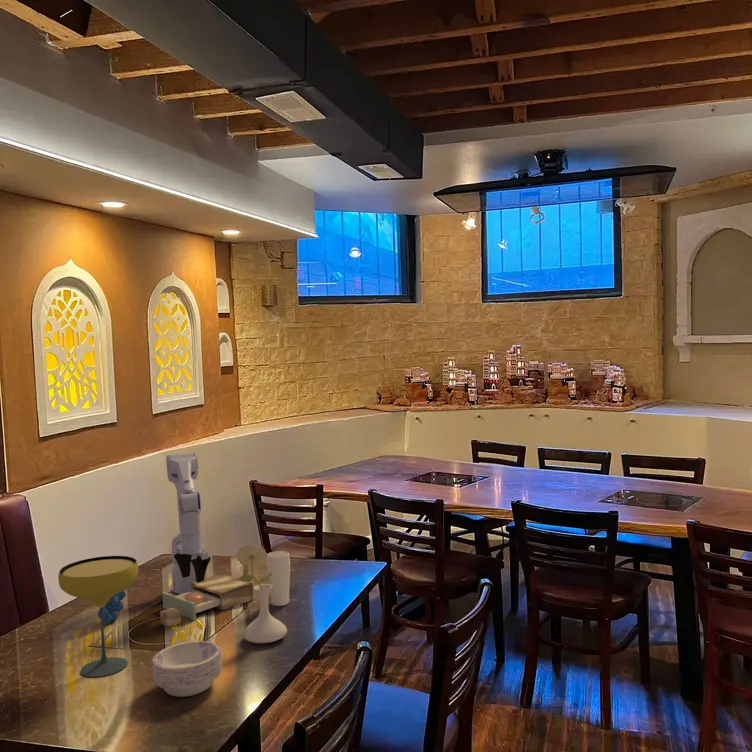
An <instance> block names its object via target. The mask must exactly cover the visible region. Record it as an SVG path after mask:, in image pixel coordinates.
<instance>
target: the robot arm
mask: <svg viewBox="0 0 752 752" xmlns="http://www.w3.org/2000/svg"><path fill="white" fill-rule="evenodd" d="M165 456H166V457H165V459H166V460H165V462H166V463H165V464H166V473H167V474H166V475H167V478H168V481H169V482H170V483H172V484H174V486H175V490H176V497H177V498H176V499H177V513H178V515H177V516H178V526H179V529H178V530H179V533H178V534H176V536H175V537H173V538H172V540H171V559H172V564H173V567H172V569H171V579H172V588H170V590H169V591H170V592H173V593H174V594H178V595H181V594H185V593H188V592H191V583H192V582H195V581H197V583H199V582H202V581H204V579H205V578H206V572H207V569H208V565H209V563H210V562H211V559H212V558H211V556H209V555H210V554H209V551H206V549H205V546H204V539H203V536H202V530H201V529H202V528H201V513H200V512H201V511H202V499H201V494H200V491H199V490H198V488H197V483H196V480H197V476H198V472H199V471H198V470H199V456H198V454H197V453H196V451H195V452H191V453H190V452H189V453H178V454H176V453H175V454H167V455H165Z"/></svg>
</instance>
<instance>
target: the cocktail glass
mask: <svg viewBox="0 0 752 752" xmlns="http://www.w3.org/2000/svg"><path fill="white" fill-rule="evenodd" d="M138 575H139V563H138V561H137V559H136V558H134V557H131V556H127V555H106V556H98V557H97V556H96V557H90V558H86V559H85V558H84V559H82V560H77V561H74V562H71V563H69V564H67V565H65V566H63V567H61V568H60V570H59V571H58V576H57V577H58V586H59V588H60V590H62V591H63V592H64V593H65V594H67V595H69V596H72V597H75V598H79V599H83V600H87V601H89V602H90V603H92V604H93V605H94V606H95V607H96V608H98V609H100V641H101V642H100V643H101V654H100V655H101V656H100V659H96V660H92V661H90V662H88V663H86V664H85V665H83V666H82V667H81V669H80V674H81V675H82V676H84V677H86V678H93V679H94V678H104V677H110V676H112V675H116V674H118V673H121V671H124V669H126V668H127V666H128V665H129V662H128V659H126V658H123V657H116V656H114V657H113V656H112V657H111V656H110V657H107V652H106V644H105V643H106V642H105V641H106V640H105V631H104V630H105V629H104V624H103V608H102V607H104V606H105V605H106V604H107V602H108V601H109V599H110V598H111V597H113V596H114V595H116V594H118V593H119V592H121V591H123V590H124V591H125V590H126V589H127V588H128V587H130V586H131V585H133V584H134V582H135V581H136V580H137V578H138Z"/></svg>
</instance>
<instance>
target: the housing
mask: <svg viewBox="0 0 752 752" xmlns="http://www.w3.org/2000/svg"><path fill="white" fill-rule="evenodd" d="M238 580H239V578H237V577H232V576H231V575H230V576H229V575H227V574H223V573H217V574H216V575H211V576H209V577H205V578H204V581H202V582H199V583H197V581H195V582H192V583H191V591H194V590H197V591H200V592H203V593H206V594H209V595H212V596H215V597H217V598H220V605H219V606H216V607H215V609H217V608H218V609H217V610H220V609H221V610H220V611H223V610H224V611H226V610H229V609H231V608H230V607H232V608H235V607H237V605H238V606H240V605H239V604H241V605H243V603H244V604H247V603H250V602H251V601H254V589H253V587H254V586H253V582H251V581H250V582H246V581H238ZM249 601H250V602H249ZM246 602H247V603H246ZM234 606H235V607H234ZM228 608H229V609H228ZM225 609H226V610H225Z"/></svg>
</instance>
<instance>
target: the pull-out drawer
mask: <svg viewBox="0 0 752 752" xmlns="http://www.w3.org/2000/svg"><path fill="white" fill-rule="evenodd" d="M161 593H162V608H163V609H164V610H167V609H170V608H175V609H178V610H180V614H181V617H182V616H183V617H184V618H187V619H190V620H192V621H195V620H197V614H198V613H201V612H203V611H206V610H210V609H213V608H214V607H216V606H219V605H220V598H217V597H215V596H212V595H209V594H206V593H203V592H200V591H197V590H194V591H191V592H188V593H185V594H181V595H180V594H178V595H174V594H171V593H169V592H166V591H163V592H161ZM192 593H201V594H203V602H202V603H200V604H197V605H195V603H193V602H191V601H188V600H185V599H184V597H185V596H186V595H188V594H192Z"/></svg>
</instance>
